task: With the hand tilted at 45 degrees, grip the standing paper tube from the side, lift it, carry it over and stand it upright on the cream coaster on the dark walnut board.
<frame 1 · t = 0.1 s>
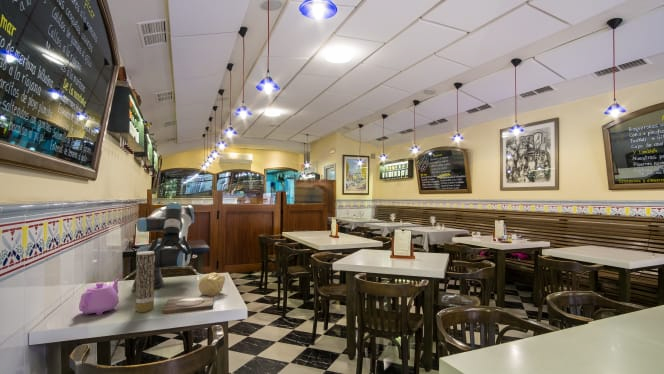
hand: (167, 267, 163), 15 cm above the table, tool tilted 35°, fingers open, 13 cm apart
paper tube: (144, 310, 147), on the table
teapot: (101, 311, 147), on the table
walnut board: (189, 305, 153), on the table
sculpture: (211, 294, 172), on the table
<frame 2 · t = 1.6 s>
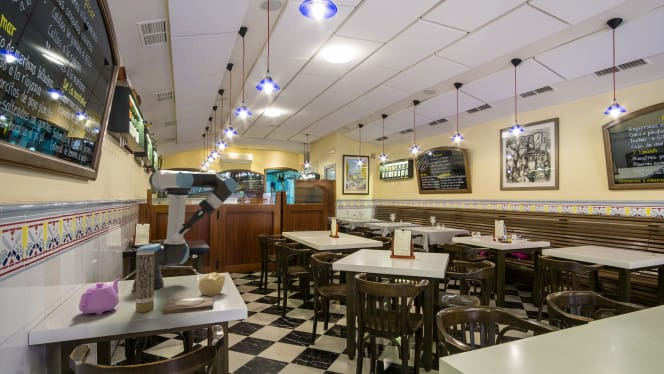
hand: (175, 237, 155), 31 cm above the table, tool tilted 45°, fingers open, 13 cm apart
nothing on the table moved.
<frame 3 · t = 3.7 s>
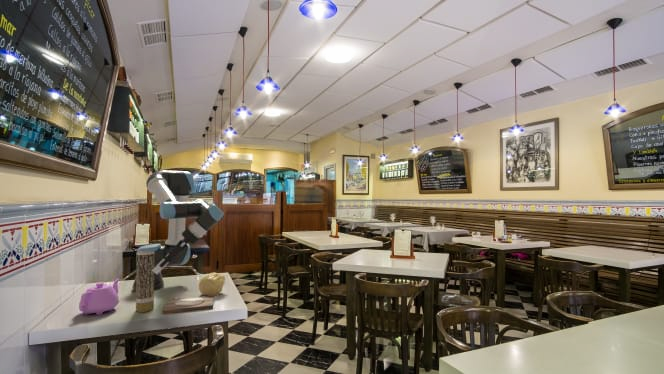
hand: (157, 269, 148), 17 cm above the table, tool tilted 45°, fingers open, 13 cm apart
nothing on the table moved.
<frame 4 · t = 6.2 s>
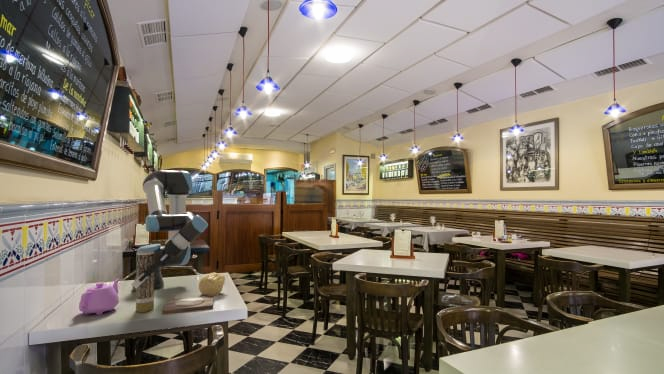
hand: (135, 284, 147), 11 cm above the table, tool tilted 45°, fingers closed on paper tube, 7 cm apart
paper tube: (144, 310, 147), on the table, touching gripper
everything else where it was.
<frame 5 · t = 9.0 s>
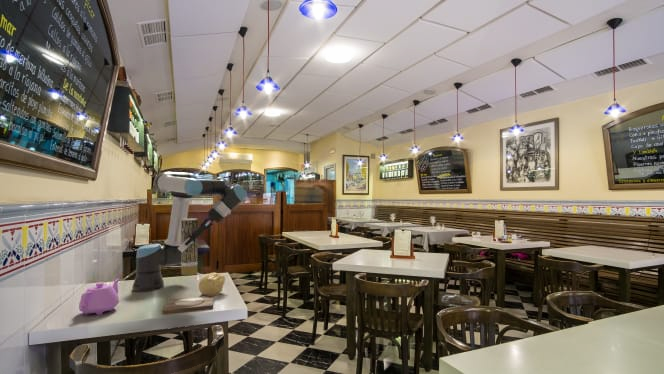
hand: (180, 249, 153), 26 cm above the table, tool tilted 45°, fingers closed on paper tube, 7 cm apart
paper tube: (189, 274, 153), point 14 cm above the table, touching gripper
everything else where it was.
when the fingers open (15 cm above the table, at t = 11.8 s): paper tube drops 1 cm, resting on walnut board.
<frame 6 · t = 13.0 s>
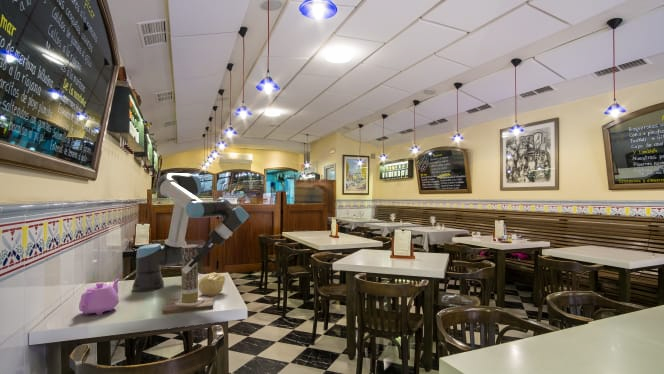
hand: (185, 269, 153), 17 cm above the table, tool tilted 45°, fingers open, 13 cm apart
paper tube: (189, 301, 153), point 2 cm above the table, touching walnut board
everything else where it was.
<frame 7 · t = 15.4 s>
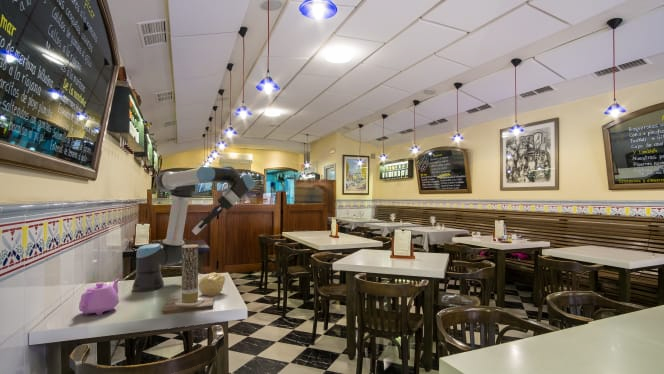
hand: (194, 231, 162), 33 cm above the table, tool tilted 45°, fingers open, 13 cm apart
nothing on the table moved.
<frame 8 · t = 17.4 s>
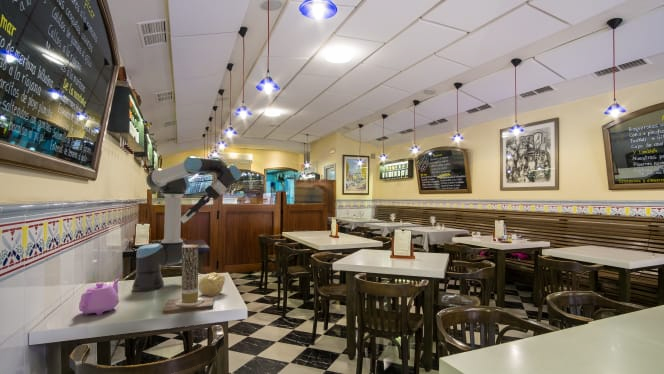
hand: (182, 220, 166), 38 cm above the table, tool tilted 45°, fingers open, 13 cm apart
nothing on the table moved.
at the end: paper tube 0.1 cm off-centre on the walnut board, point 1.8 cm above the walnut board's base; paper tube tilted 0°; the gripper is holding nothing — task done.
